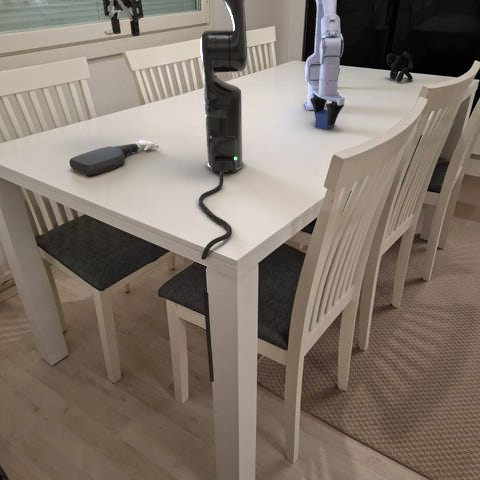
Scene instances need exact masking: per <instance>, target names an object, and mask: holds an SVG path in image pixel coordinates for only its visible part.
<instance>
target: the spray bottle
mask: <svg viewBox="0 0 480 480" xmlns="http://www.w3.org/2000/svg"><path fill="white" fill-rule="evenodd" d="M159 148H160V145H159V144H158V143H155V142H151V141H148V140H144V139H139V140H138V141H137V142H135V143H129V144H128V143H126V144H122V145H113V146H105V147H100V148H97V149H94V150H90V151H87V152H83V153H81V154H78V155H74V156H73V157H70V159H69V161H68V162H69V167H70V168H71V169H72V170H74V171H75V172H78V173H81V174H83V175H85V176H89V177H90V176H91V177H92V176H95V175H99V174H102V173H105V172H107V171H110V170H113V169H116V168H118V167H120V166H122V165H123V164H124V163H125V158H126V156H127V155H131V154H133V153H138V151H140V150H143V151H144V152H146V151H147V150H149V149H159Z"/></svg>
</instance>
